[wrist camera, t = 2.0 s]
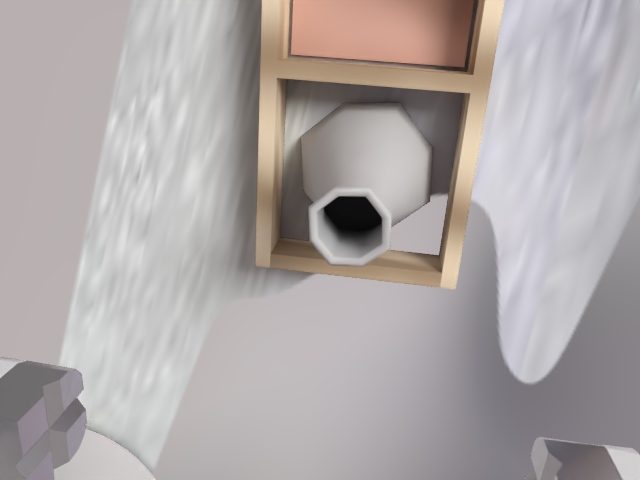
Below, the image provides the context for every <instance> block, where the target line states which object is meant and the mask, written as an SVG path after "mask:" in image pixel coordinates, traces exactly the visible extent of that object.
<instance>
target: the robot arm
mask: <svg viewBox="0 0 640 480" xmlns="http://www.w3.org/2000/svg"><path fill="white" fill-rule="evenodd" d="M83 389H84V388H83V381H82V374H81V373H80V372H79V371H77V370H76V369H73V368H67V367H61V366H55V365H49V364H43V363H37V362H31V361H23V360H18V359H12V358H5V357H0V480H156V479H155V478H154V476H153V475H152V474H151V472H150V471H149V470H148V469H147V468H146V467H145V466H144V465H143V464H142V463H141V462H140V461H139V460H138V459H137V458H136V457H135V456H134V455H133V454H131V453H130V452H129V451H128V450H126V449H125V448H123V447H122V446H120V445H119V444H117V443H116V442H114V441H112V440H110V439H109V438H107V437H105V436H103V435H100V434H98V433H96V432H93V431H91V430H88V429H86V422H87V419H86V409H85V408H84V407H83V405H82V404H81V403H80V401H79V400H78V399H77V397H78V396H79V394H80V393H81V392H82V391H83ZM530 456H531V460H532V463H533V466H534V470H533V471H532V472H531V473H529V474H528V475H527V476H525V479H524V480H640V455H639V454H638V453H637V452H636V451H635V450H633V449H632V448H625V447H616V446H607V445H599V446H598V445H592V444H585V443H577V442H571V441H564V440H557V439H549V438H542V437H537V439H536V441H535V442H534V445H533V448H532V452H531V455H530Z"/></svg>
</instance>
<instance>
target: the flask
mask: <svg viewBox="0 0 640 480" xmlns="http://www.w3.org/2000/svg"><path fill="white" fill-rule="evenodd" d="M301 155H302V182H303V190H304V192H305V193H306V194H307V195H308V197H309V198H310V199H311V200H312V202H313V203H312V204H311V205H310V206H309V207H308V219H309V241H310V242H311V243H312V244H313V246H314V247H315V248H316V249H317V250H318V252H319V253H320V254H321V255H322V257H323V258H324V259H325V260H326V262H327V263H328V264H329V265H330V266H356V267H363V266H365V265H366V264H368V263H369V262H371V261H372V260H374V259H375V258H377V257H378V256H380V255H382V254H383V253H385V252H386V251H388V250H389V249H390V248H391V227H393V226H394V225H396V224H397V223H399V222H400V221H401V220H403V219H404V218H406V217H407V216H409V215H410V214H412V213H413V212H415V211H416V210H418V209H419V208H421V207H422V206H424V205H425V204H427V203H428V202H430V191H431V169H432V147H431V145H430V144H429V142H428V141H427V140H426V138H425V137H424V135H423V134H422V133H421V131H420V130H419V129H418V127H417V126H416V124H415V123H414V122H413V120H412V119H411V117H410V116H409V115H408V113H407V112H406V110H405V109H404V108H403V106H402V105H401V104H400V103H343V104H342V105H341V106H339V107H338V108H337V109H336V110H334V111H333V112H332V113H331V114H329V115H328V116H327V117H325V118H324V119H323V120H322V121H320V122H319V123H318V124H317V125H315V126H314V127H313V128H312V129H310V130H309V131H308V132H306V133H305V134H304V135H303V136H301Z"/></svg>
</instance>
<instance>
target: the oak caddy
mask: <svg viewBox="0 0 640 480" xmlns="http://www.w3.org/2000/svg"><path fill="white" fill-rule="evenodd" d="M473 6H474V0H293V18H292V41H291V54H292V55H305V56H319V57H332V58H346V59H359V60H372V61H386V62H399V63H413V64H426V65H439V66H453V67H464V66H465V59H466V52H467V46H468V39H469V32H470V26H471V19H472V13H473ZM503 6H504V0H478V5H477V12H476V18H475V25H474V31H473V38H472V44H471V51H470V57H469V64H468V70H467V72H465V71H452V70H438V69H425V68H412V67H399V66H385V65H372V64H359V63H346V62H332V61H319V60H306V59H292V58H288V37H289V13H290V0H262V21H261V61H260V101H259V141H258V181H257V221H256V262H255V266H260V267H269V268H277V269H286V270H294V271H303V272H311V273H320V274H328V275H337V276H345V277H355V278H363V279H371V280H380V281H388V282H397V283H405V284H414V285H422V286H431V287H440V288H448V289H456V284H457V278H458V272H459V266H460V260H461V254H462V248H463V242H464V237H465V230H466V225H467V219H468V213H469V206H470V201H471V195H472V189H473V183H474V177H475V171H476V165H477V160H478V154H479V148H480V142H481V136H482V130H483V124H484V118H485V112H486V106H487V100H488V94H489V89H490V83H491V77H492V71H493V65H494V59H495V53H496V47H497V41H498V35H499V29H500V23H501V18H502V12H503ZM287 79H296V80H309V81H321V82H334V83H346V84H359V85H371V86H384V87H397V88H409V89H422V90H434V91H447V92H460V93H464V96H463V103H462V109H461V116H460V122H459V129H458V136H457V142H456V149H455V155H454V162H453V168H452V175H451V181H450V188H449V194H448V201H447V208H446V214H445V221H444V227H443V233H442V240H441V246H440V253H439V255H430V254H422V253H413V252H404V251H395V250H388V251H386V252H385V253H383V254H382V255H380V256H378V257H377V258H375V259H374V260H372V261H371V262H369V263H368V264H366V265H365V266H363V267H356V266H330V265H329V264H328V263H327V262H326V260H325V259H324V258H323V257H322V255H321V254H320V253H319V252H318V250H317V249H316V248H315V247H314V246H313V244H312V243H311V242H310V241H305V240H296V239H287V238H280V229H281V205H282V181H283V157H284V133H285V109H286V85H287Z"/></svg>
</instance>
